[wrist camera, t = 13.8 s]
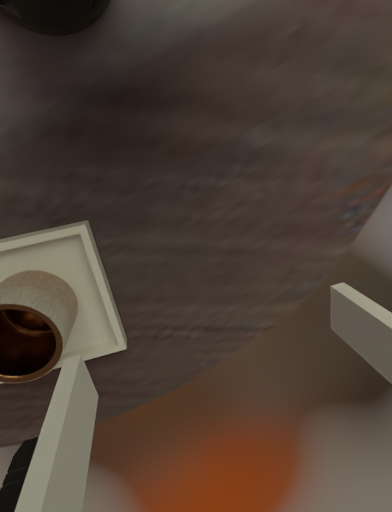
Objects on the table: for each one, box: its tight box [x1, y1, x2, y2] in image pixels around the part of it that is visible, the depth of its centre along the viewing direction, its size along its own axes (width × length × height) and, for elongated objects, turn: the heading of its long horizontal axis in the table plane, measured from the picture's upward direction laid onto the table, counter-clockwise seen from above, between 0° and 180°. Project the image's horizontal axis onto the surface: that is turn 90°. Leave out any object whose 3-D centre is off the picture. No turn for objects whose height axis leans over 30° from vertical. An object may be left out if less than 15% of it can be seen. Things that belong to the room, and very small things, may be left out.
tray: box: [0, 220, 127, 384], centre depth 41 cm, size 20×20×2 cm
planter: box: [0, 270, 78, 383], centre depth 37 cm, size 11×11×10 cm
